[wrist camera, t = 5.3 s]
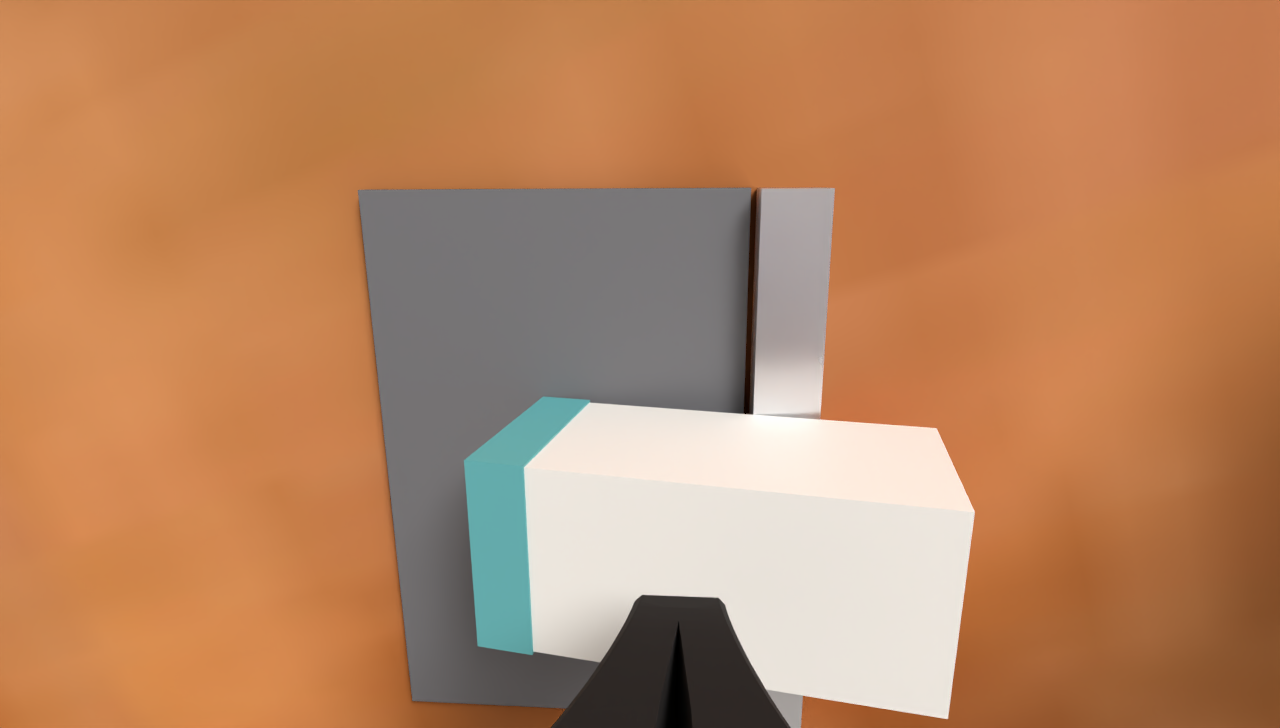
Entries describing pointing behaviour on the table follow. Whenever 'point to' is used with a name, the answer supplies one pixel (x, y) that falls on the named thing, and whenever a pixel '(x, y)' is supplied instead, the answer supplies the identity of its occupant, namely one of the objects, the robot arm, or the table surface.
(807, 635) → the tall block
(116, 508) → the table surface
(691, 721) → the robot arm
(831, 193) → the stop rail
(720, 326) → the mat
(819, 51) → the table surface
